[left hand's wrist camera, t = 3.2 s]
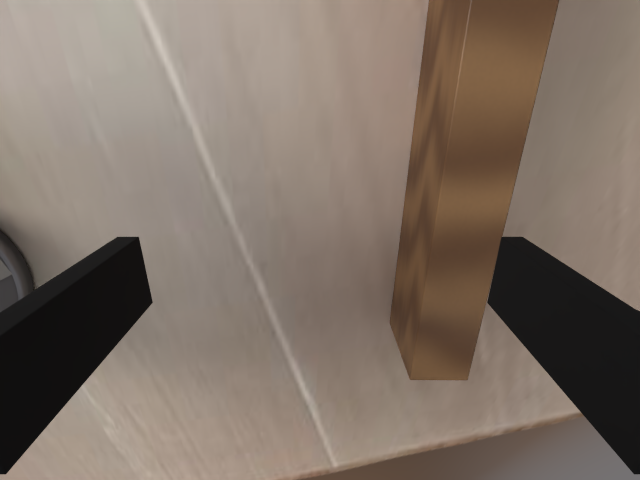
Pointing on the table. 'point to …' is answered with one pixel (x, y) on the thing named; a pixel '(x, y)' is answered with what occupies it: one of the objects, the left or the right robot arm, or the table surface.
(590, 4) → the table surface
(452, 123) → the brown wooden bar
